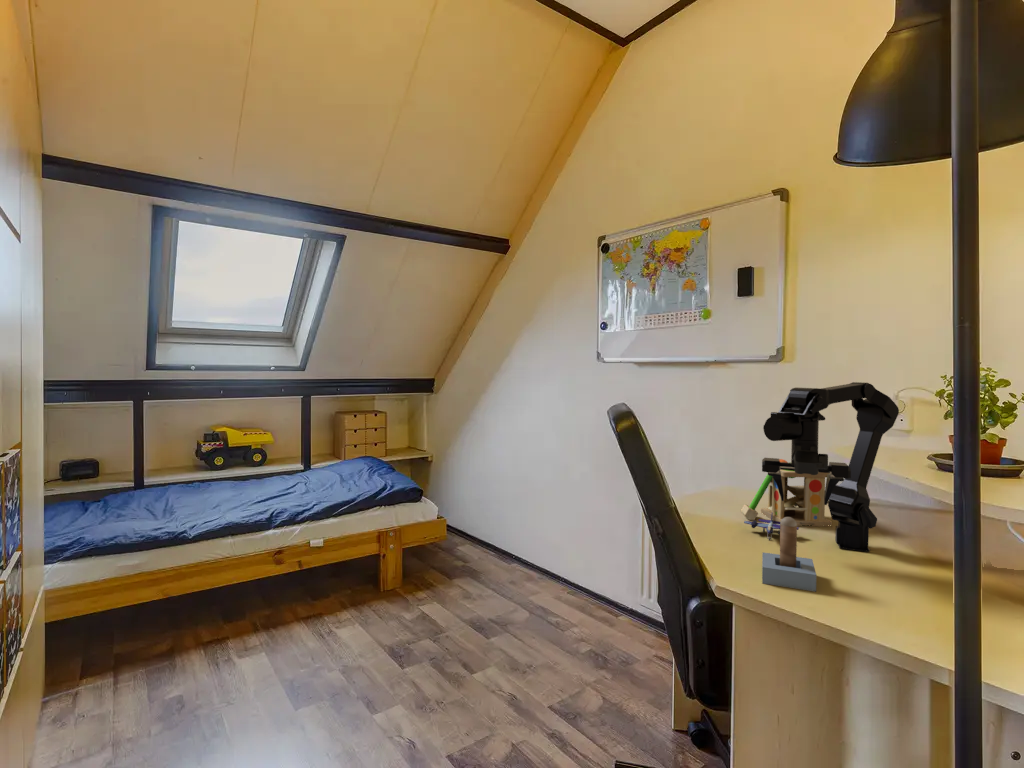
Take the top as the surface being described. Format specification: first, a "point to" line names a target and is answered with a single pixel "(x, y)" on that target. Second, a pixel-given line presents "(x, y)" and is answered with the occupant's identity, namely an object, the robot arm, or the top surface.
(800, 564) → the slotted blue base
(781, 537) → the walnut peg
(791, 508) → the pounding bench toy
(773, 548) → the top surface
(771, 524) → the toy airplane
